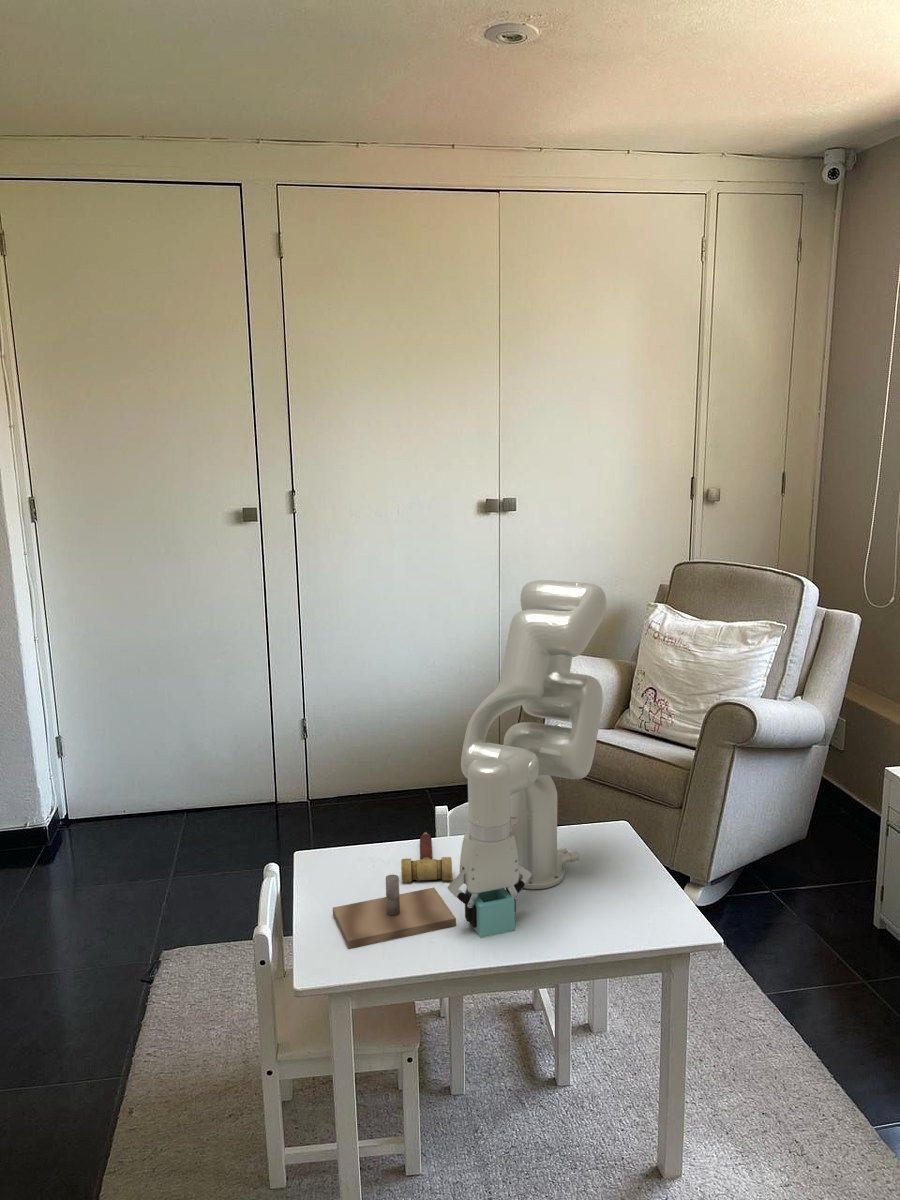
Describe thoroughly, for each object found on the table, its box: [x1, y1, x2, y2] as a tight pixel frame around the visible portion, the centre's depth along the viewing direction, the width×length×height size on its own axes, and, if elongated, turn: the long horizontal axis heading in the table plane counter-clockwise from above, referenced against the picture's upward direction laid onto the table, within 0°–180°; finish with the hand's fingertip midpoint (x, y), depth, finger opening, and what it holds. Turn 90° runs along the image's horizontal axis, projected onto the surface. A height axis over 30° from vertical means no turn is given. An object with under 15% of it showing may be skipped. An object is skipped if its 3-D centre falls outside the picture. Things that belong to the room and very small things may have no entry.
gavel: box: [400, 832, 453, 883], centre depth 193 cm, size 21×5×10 cm
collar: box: [473, 888, 516, 939], centre depth 168 cm, size 7×7×6 cm
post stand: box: [332, 874, 457, 949], centre depth 170 cm, size 20×12×8 cm, turn 110°
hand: (490, 919), depth 168 cm, fingers closed on collar, 6 cm apart
